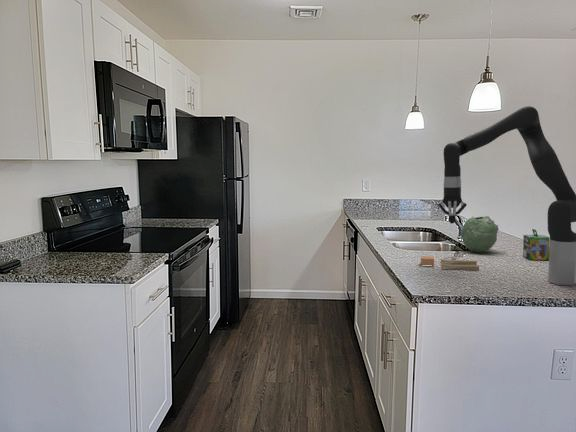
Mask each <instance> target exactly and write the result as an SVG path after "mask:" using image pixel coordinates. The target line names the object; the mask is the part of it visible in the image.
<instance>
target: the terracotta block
mask: <svg viewBox="0 0 576 432" xmlns="http://www.w3.org/2000/svg"><path fill="white" fill-rule="evenodd" d="M421 265H432V266H434V267H435V256H432V255H430V256H428V255H425V256H424V255H421V256H420V266H421Z"/></svg>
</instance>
